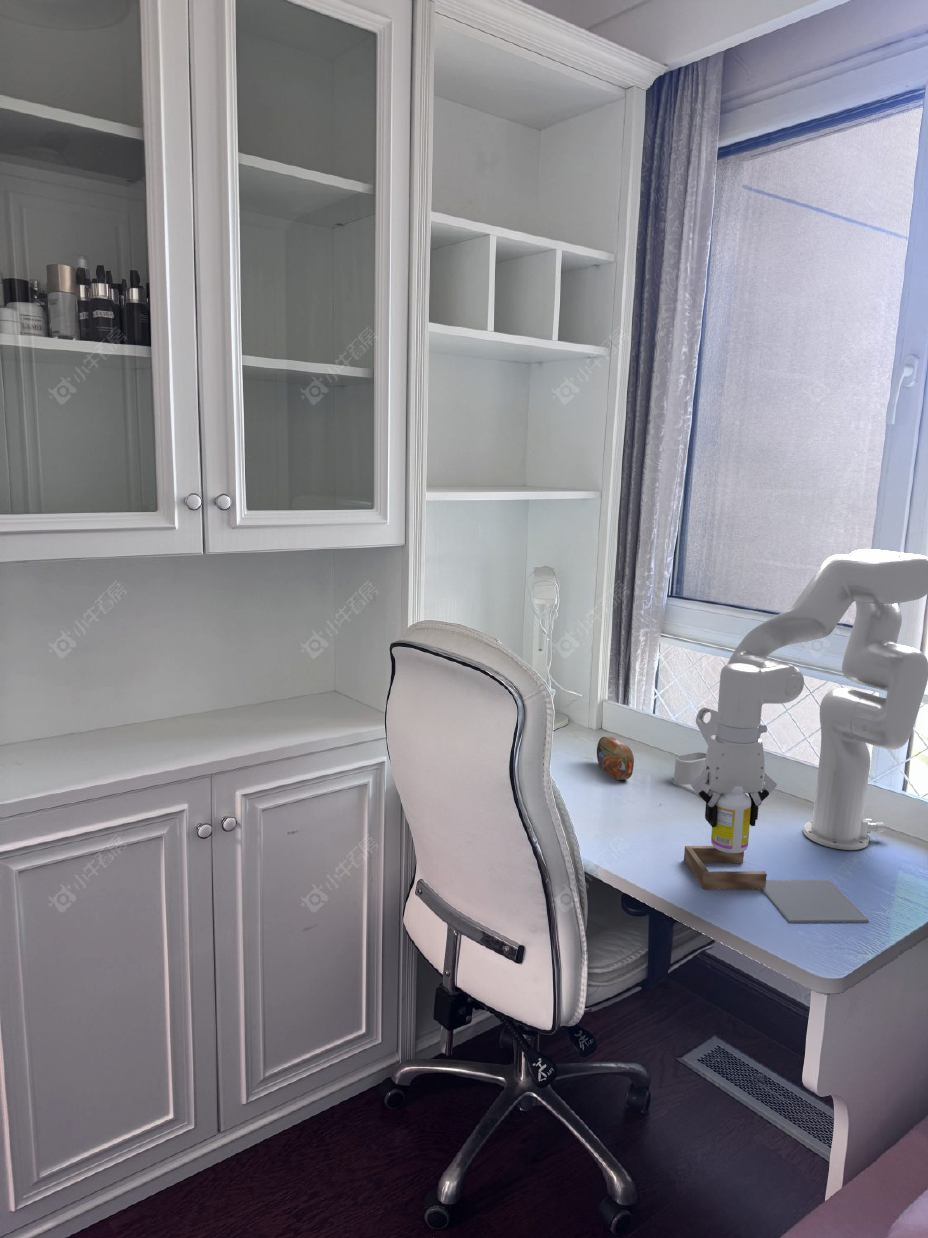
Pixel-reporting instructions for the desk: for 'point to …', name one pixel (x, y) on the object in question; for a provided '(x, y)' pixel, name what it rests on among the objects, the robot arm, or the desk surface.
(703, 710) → the phone holder
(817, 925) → the desk surface
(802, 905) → the mat
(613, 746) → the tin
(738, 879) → the wooden u-shaped frame
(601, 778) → the desk surface
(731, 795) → the supplement bottle
